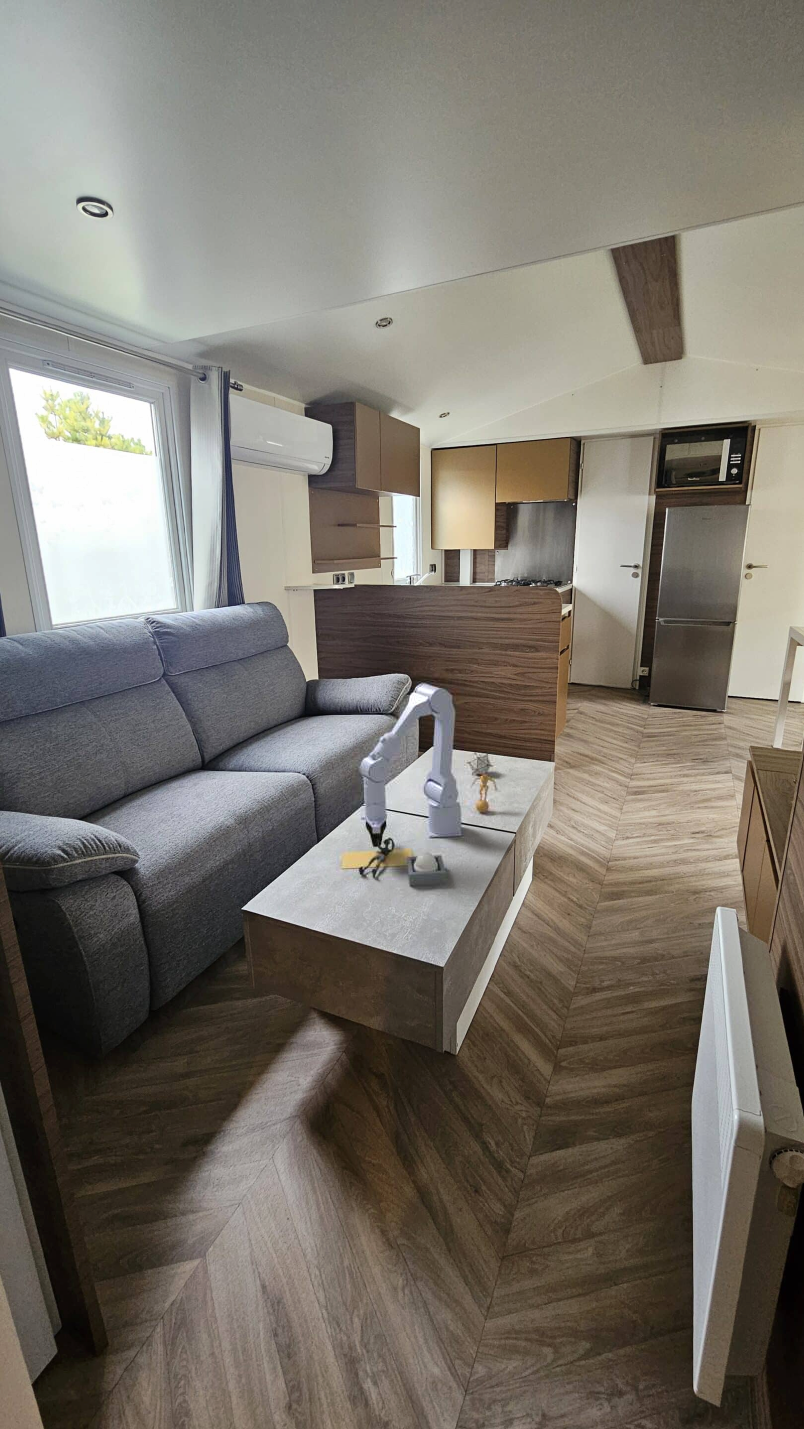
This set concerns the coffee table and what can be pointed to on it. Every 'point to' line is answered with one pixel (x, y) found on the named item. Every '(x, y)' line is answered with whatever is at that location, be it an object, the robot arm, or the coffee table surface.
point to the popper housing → (426, 873)
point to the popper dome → (425, 863)
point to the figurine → (483, 804)
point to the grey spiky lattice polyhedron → (480, 764)
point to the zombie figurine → (379, 857)
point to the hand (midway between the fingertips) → (376, 846)
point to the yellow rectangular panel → (364, 857)
